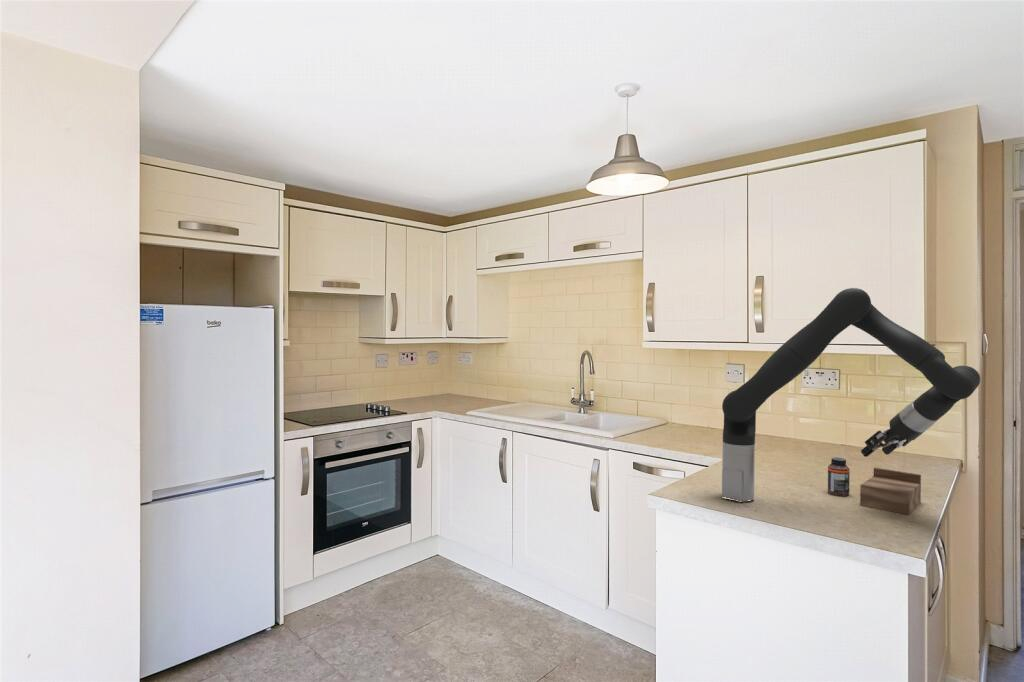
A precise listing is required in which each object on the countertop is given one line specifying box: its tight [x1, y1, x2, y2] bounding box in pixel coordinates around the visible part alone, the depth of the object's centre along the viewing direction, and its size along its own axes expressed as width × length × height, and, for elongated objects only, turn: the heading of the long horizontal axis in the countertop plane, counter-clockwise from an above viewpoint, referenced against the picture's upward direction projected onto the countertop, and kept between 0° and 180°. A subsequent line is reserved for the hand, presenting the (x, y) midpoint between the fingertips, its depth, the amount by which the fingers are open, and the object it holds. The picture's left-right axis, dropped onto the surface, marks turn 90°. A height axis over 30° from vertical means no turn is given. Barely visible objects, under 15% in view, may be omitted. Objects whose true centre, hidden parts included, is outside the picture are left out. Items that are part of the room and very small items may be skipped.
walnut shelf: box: [859, 467, 922, 516], centre depth 165 cm, size 16×12×8 cm
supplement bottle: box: [827, 457, 850, 497], centre depth 176 cm, size 6×6×11 cm
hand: (874, 453), depth 164 cm, fingers open, 8 cm apart
